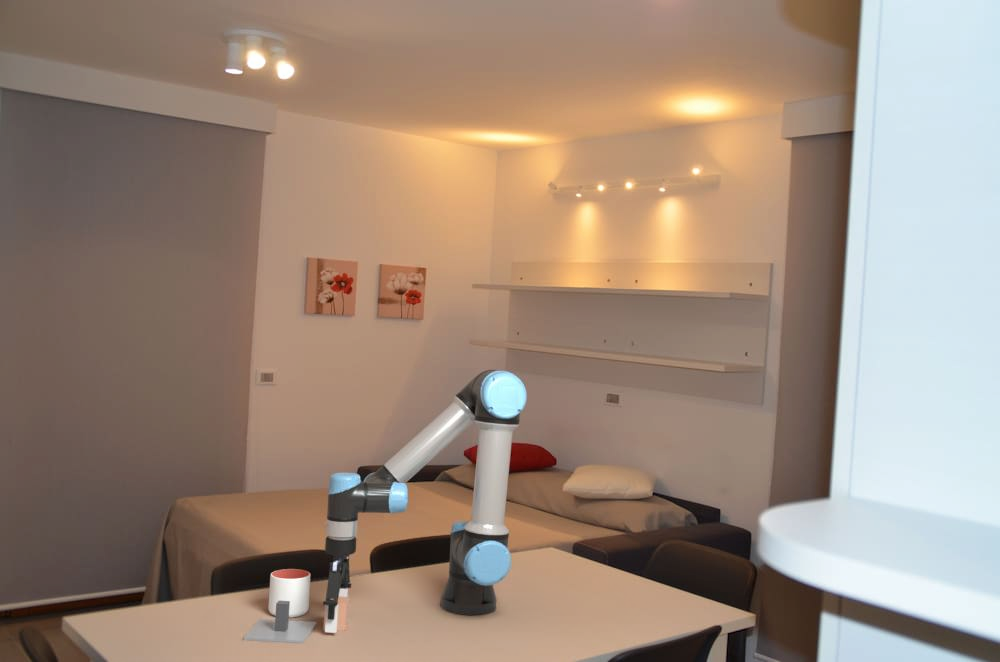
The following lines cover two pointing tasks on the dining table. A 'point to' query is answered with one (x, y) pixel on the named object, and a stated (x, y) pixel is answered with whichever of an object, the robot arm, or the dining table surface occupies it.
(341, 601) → the peach toy cube
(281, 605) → the grey square plate
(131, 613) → the dining table surface
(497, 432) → the robot arm
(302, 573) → the cup
